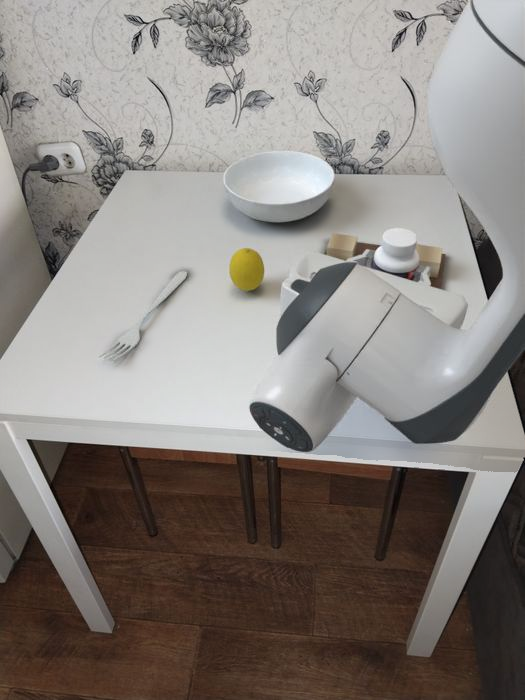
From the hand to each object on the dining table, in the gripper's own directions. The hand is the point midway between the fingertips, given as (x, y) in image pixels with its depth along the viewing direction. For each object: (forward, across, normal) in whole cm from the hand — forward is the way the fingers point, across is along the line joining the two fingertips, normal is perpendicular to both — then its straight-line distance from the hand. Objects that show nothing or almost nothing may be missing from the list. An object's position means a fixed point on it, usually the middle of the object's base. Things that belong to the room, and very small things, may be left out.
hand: (397, 262), depth 72 cm
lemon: (+5, +25, +17) cm, 31 cm away
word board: (+21, +9, +17) cm, 28 cm away
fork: (-8, +36, +17) cm, 40 cm away
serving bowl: (+29, +33, +17) cm, 48 cm away
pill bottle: (-1, 0, +6) cm, 6 cm away
